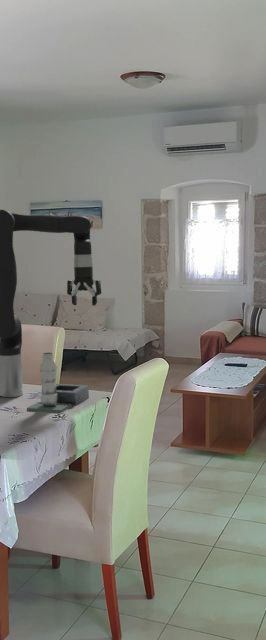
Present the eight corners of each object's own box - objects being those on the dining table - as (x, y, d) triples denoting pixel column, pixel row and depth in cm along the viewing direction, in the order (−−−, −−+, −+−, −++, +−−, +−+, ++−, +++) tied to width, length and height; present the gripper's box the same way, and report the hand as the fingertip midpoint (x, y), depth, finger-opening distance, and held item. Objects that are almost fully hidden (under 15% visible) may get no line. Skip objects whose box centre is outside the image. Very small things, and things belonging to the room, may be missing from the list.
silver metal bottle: (59, 403, 247) (58, 351, 245) (55, 408, 241) (54, 355, 238) (43, 403, 248) (41, 351, 246) (38, 407, 241) (37, 354, 239)
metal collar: (42, 403, 252) (42, 390, 252) (57, 395, 264) (56, 383, 264) (75, 405, 248) (75, 392, 247) (88, 397, 260) (88, 385, 259)
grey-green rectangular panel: (26, 410, 242) (26, 407, 242) (37, 404, 251) (37, 402, 251) (60, 412, 238) (60, 410, 238) (71, 406, 246) (71, 404, 246)
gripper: (63, 266, 264) (64, 306, 266) (96, 266, 259) (97, 306, 261) (71, 265, 271) (72, 304, 273) (102, 265, 266) (104, 304, 268)
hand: (84, 305), depth 267 cm, fingers open, 8 cm apart
